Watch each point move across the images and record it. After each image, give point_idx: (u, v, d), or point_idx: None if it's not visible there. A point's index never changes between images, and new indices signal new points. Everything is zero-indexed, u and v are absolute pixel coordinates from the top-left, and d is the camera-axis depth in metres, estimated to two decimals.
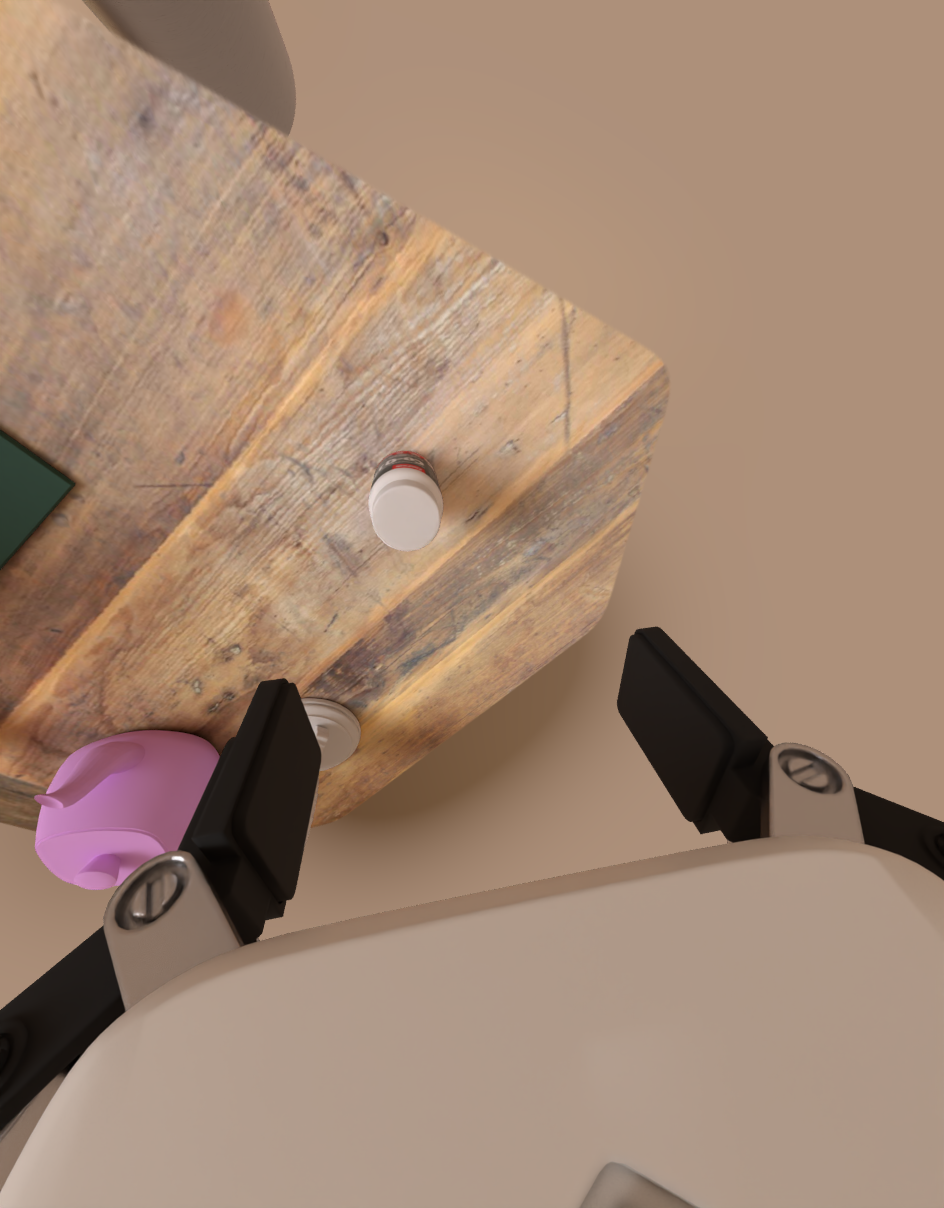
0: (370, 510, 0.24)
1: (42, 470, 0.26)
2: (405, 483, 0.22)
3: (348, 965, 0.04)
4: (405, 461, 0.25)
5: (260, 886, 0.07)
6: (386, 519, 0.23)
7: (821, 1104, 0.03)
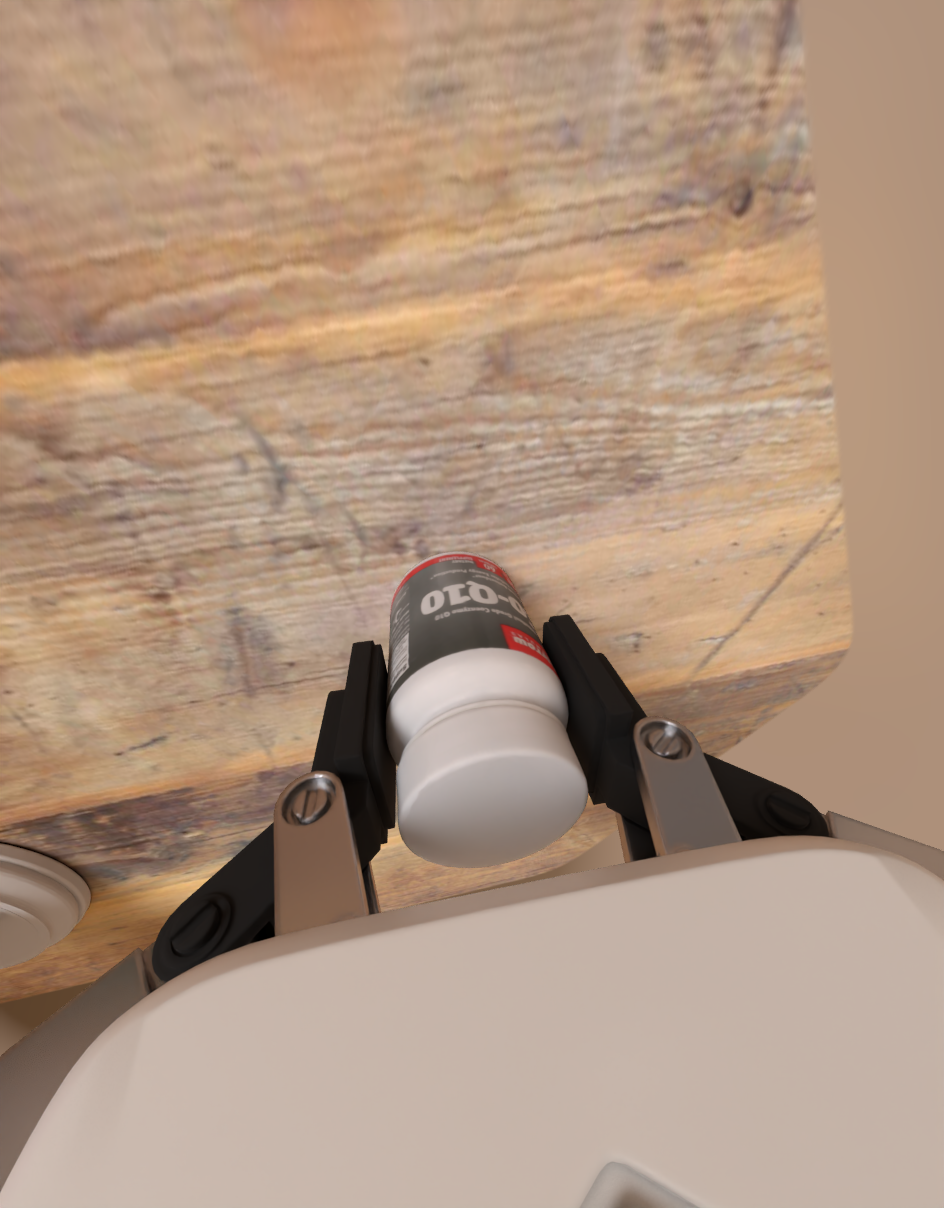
0: (401, 708, 0.09)
1: None
2: (556, 745, 0.08)
3: (348, 965, 0.04)
4: (520, 619, 0.11)
5: (376, 810, 0.09)
6: (452, 803, 0.08)
7: (821, 1104, 0.03)
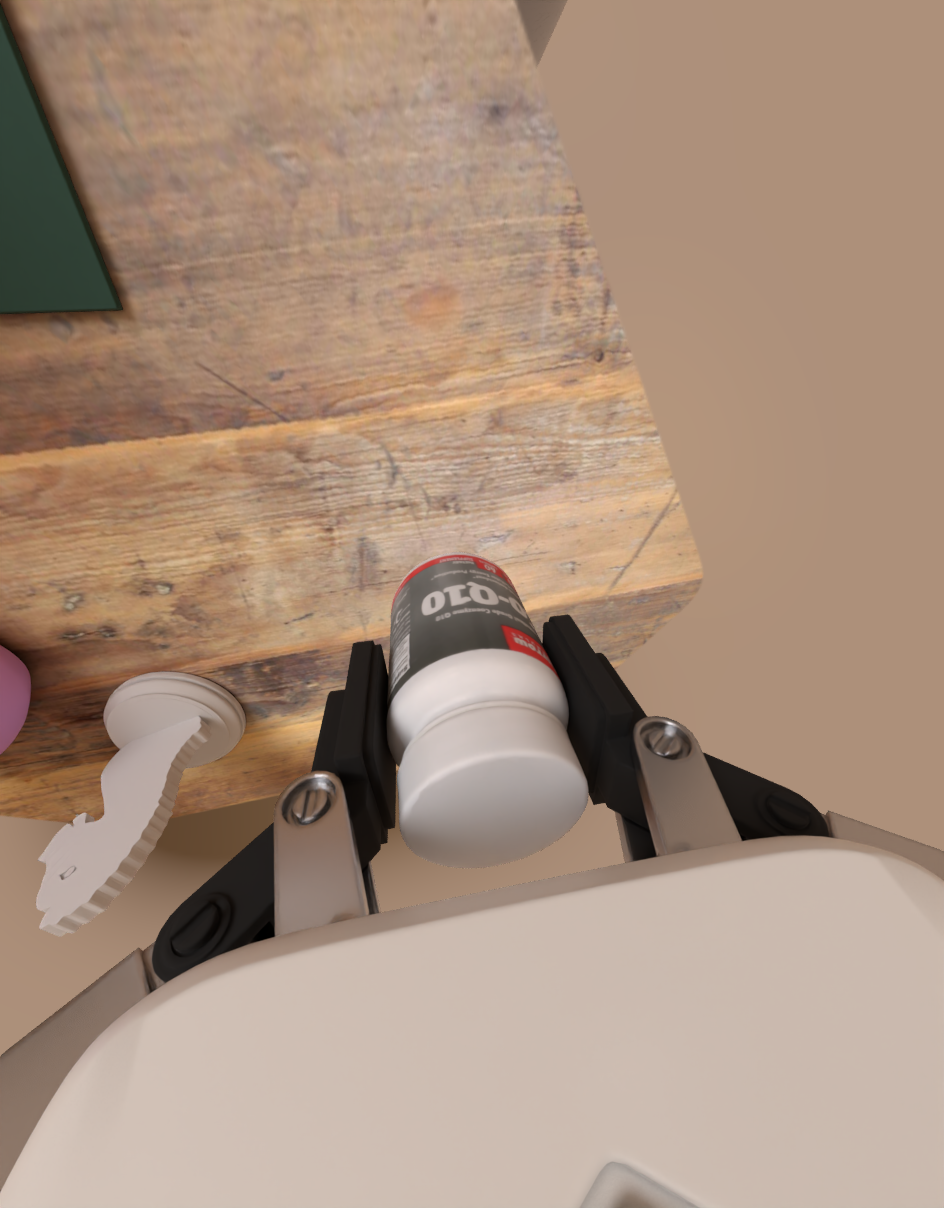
0: (402, 709, 0.09)
1: (93, 268, 0.18)
2: (557, 745, 0.08)
3: (348, 965, 0.04)
4: (520, 620, 0.11)
5: (376, 810, 0.09)
6: (453, 804, 0.08)
7: (821, 1105, 0.03)
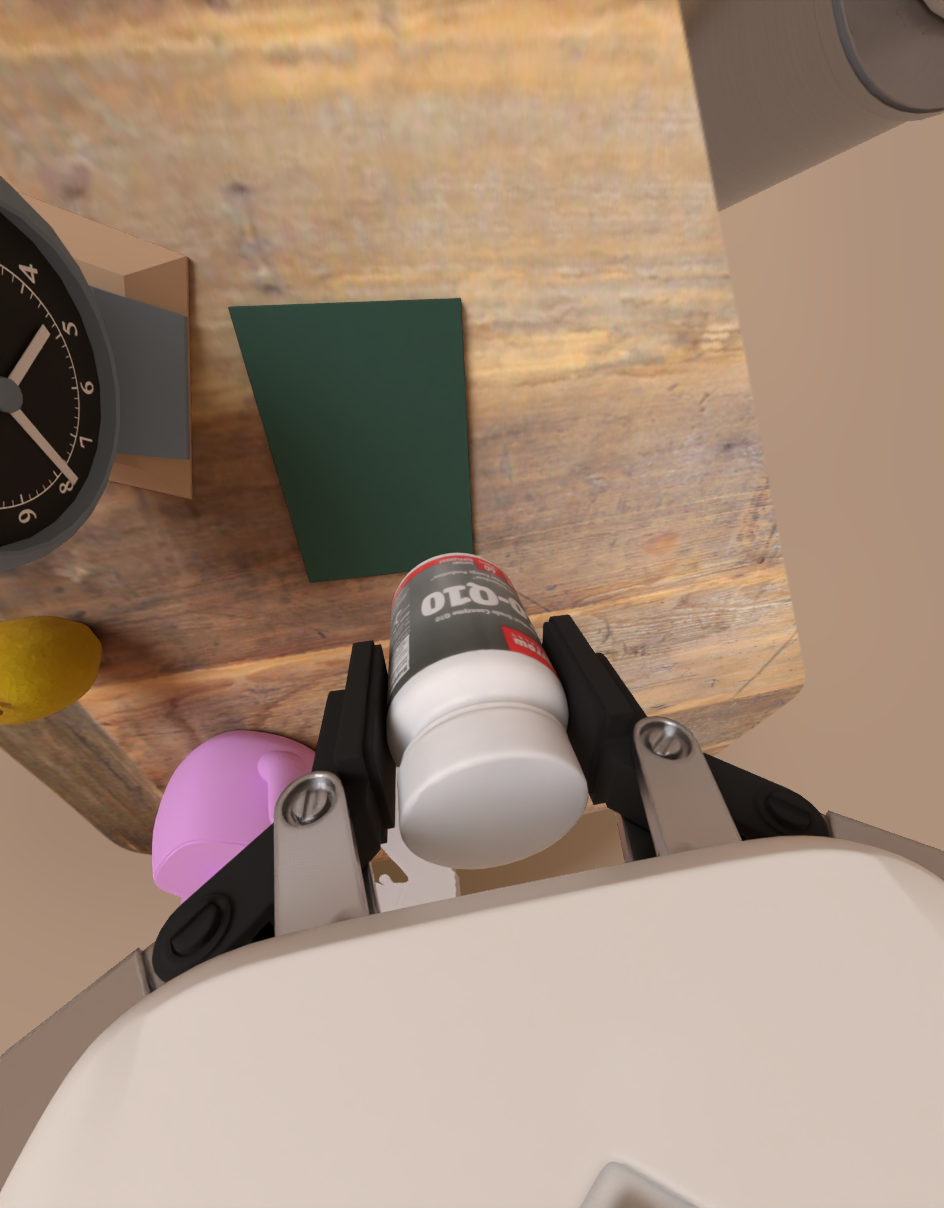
0: (402, 710, 0.09)
1: (468, 546, 0.29)
2: (556, 746, 0.08)
3: (348, 965, 0.04)
4: (520, 620, 0.11)
5: (376, 809, 0.09)
6: (453, 805, 0.08)
7: (821, 1104, 0.03)
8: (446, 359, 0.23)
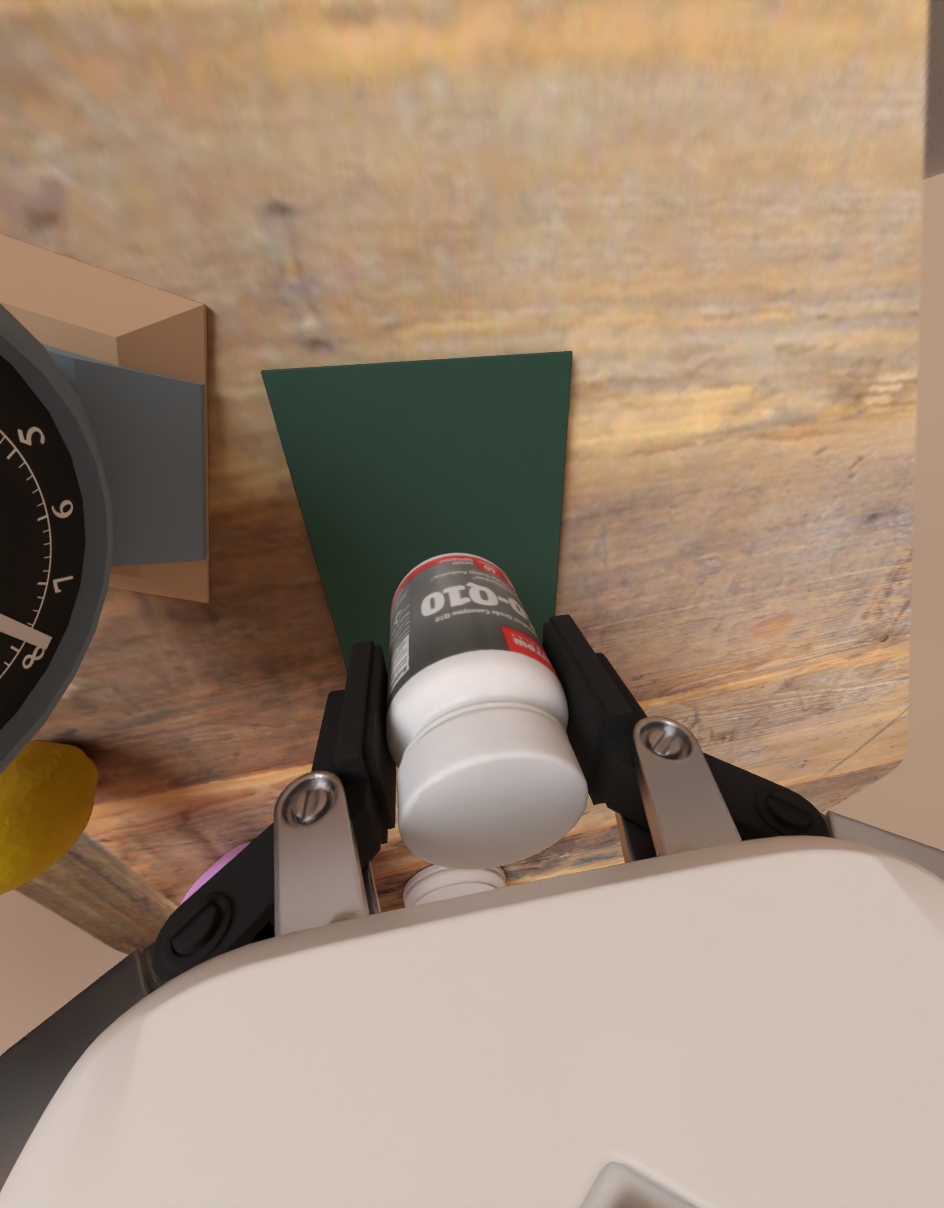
0: (401, 710, 0.09)
1: None
2: (556, 746, 0.08)
3: (348, 965, 0.04)
4: (520, 621, 0.11)
5: (376, 810, 0.09)
6: (453, 805, 0.08)
7: (821, 1104, 0.03)
8: (545, 428, 0.17)
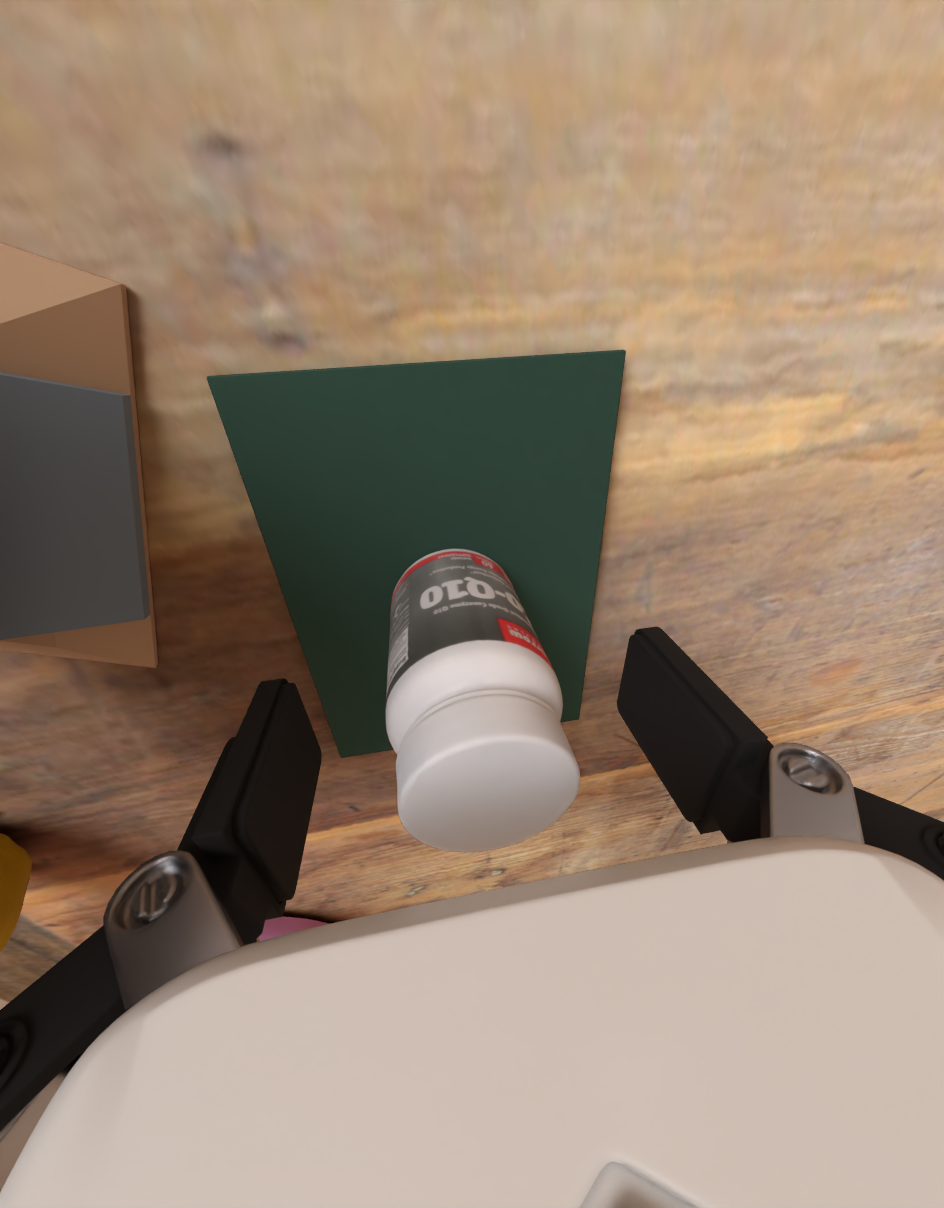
0: (401, 698, 0.09)
1: (575, 699, 0.19)
2: (549, 731, 0.08)
3: (348, 965, 0.04)
4: (516, 613, 0.11)
5: (260, 885, 0.07)
6: (450, 787, 0.08)
7: (821, 1105, 0.03)
8: (585, 450, 0.13)
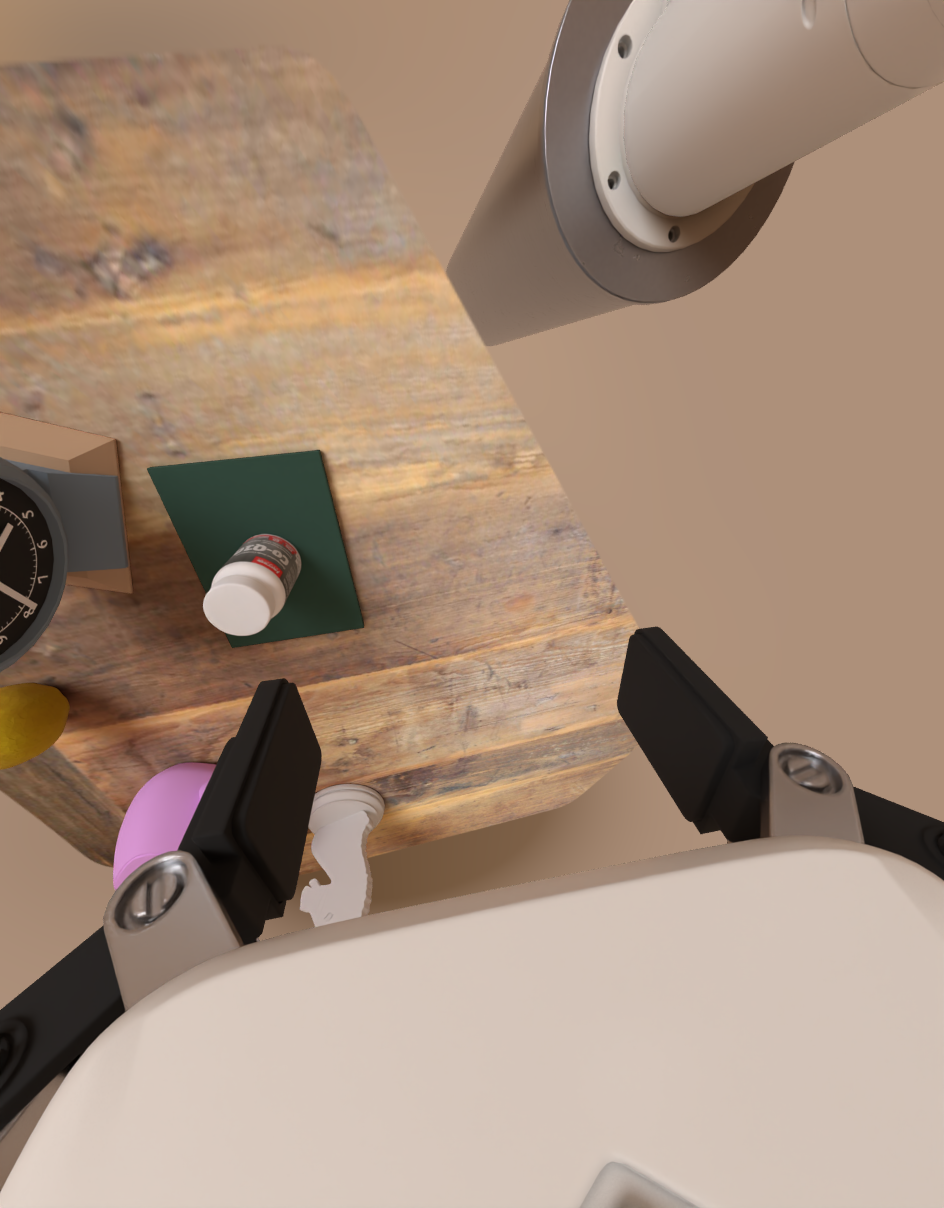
0: (213, 582, 0.27)
1: (357, 614, 0.37)
2: (251, 585, 0.25)
3: (348, 965, 0.04)
4: (271, 556, 0.29)
5: (260, 886, 0.07)
6: (218, 602, 0.25)
7: (821, 1104, 0.03)
8: (315, 490, 0.31)
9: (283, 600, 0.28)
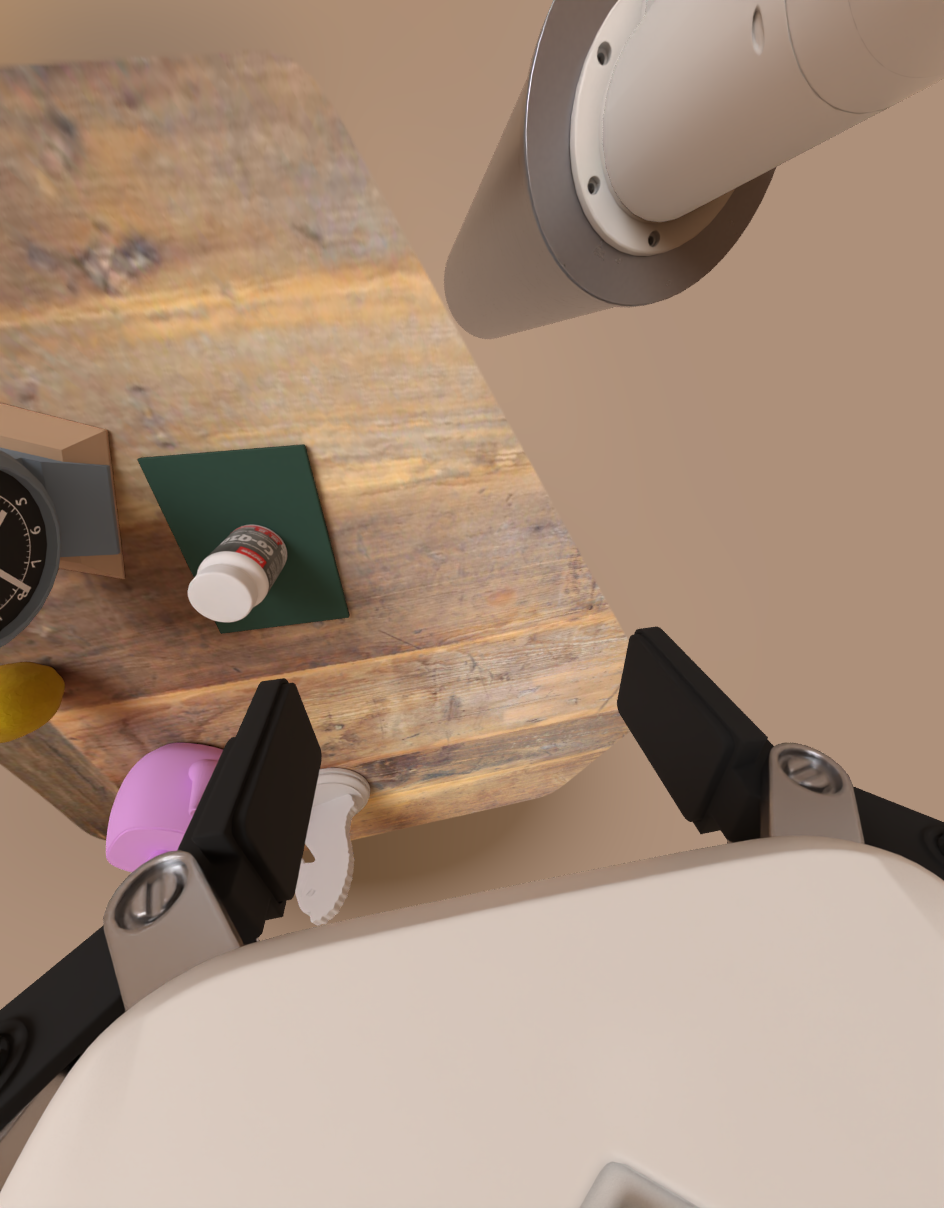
0: (198, 570, 0.28)
1: (342, 604, 0.38)
2: (233, 574, 0.27)
3: (348, 965, 0.04)
4: (255, 546, 0.30)
5: (260, 885, 0.07)
6: (202, 590, 0.27)
7: (821, 1105, 0.03)
8: (300, 483, 0.32)
9: (266, 589, 0.30)
